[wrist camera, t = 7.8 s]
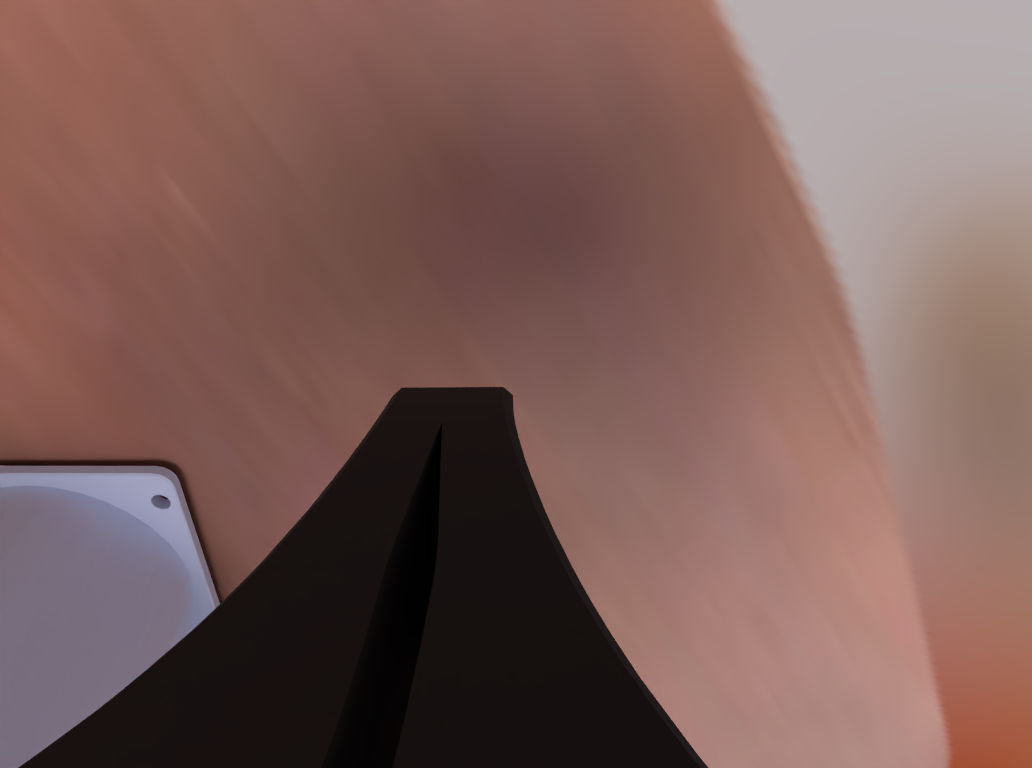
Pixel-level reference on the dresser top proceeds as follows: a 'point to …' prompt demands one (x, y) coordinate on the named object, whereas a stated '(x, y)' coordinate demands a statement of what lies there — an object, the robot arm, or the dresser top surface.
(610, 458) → the dresser top surface
